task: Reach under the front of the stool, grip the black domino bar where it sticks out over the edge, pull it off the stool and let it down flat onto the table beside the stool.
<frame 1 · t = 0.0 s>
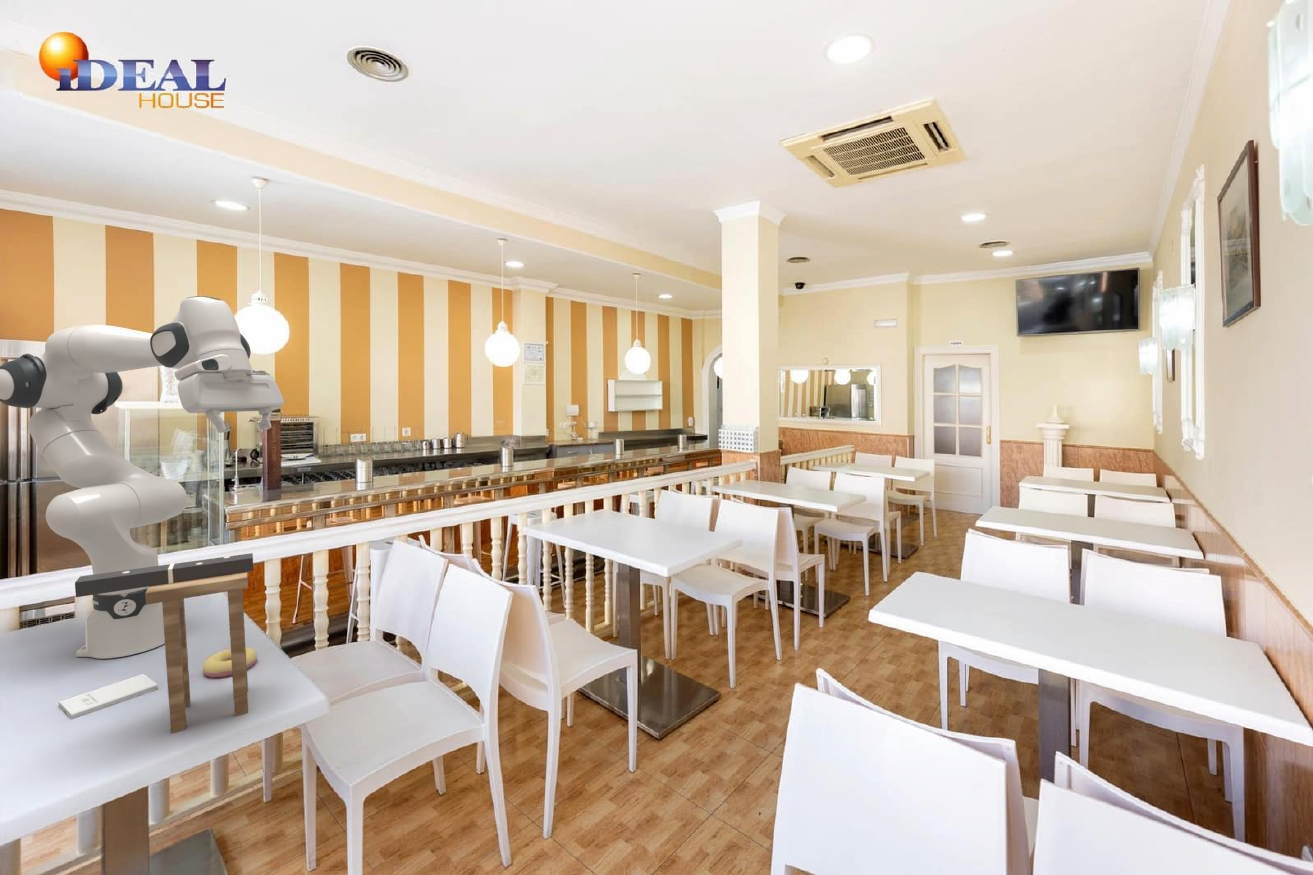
hand: (246, 430, 120), 52 cm above the table, tool tilted 20°, fingers open, 8 cm apart
external hard drive: (109, 700, 110), on the table
donut: (230, 669, 122), on the table
stool: (208, 709, 106), on the table
domino: (172, 580, 102), point 26 cm above the table, touching stool
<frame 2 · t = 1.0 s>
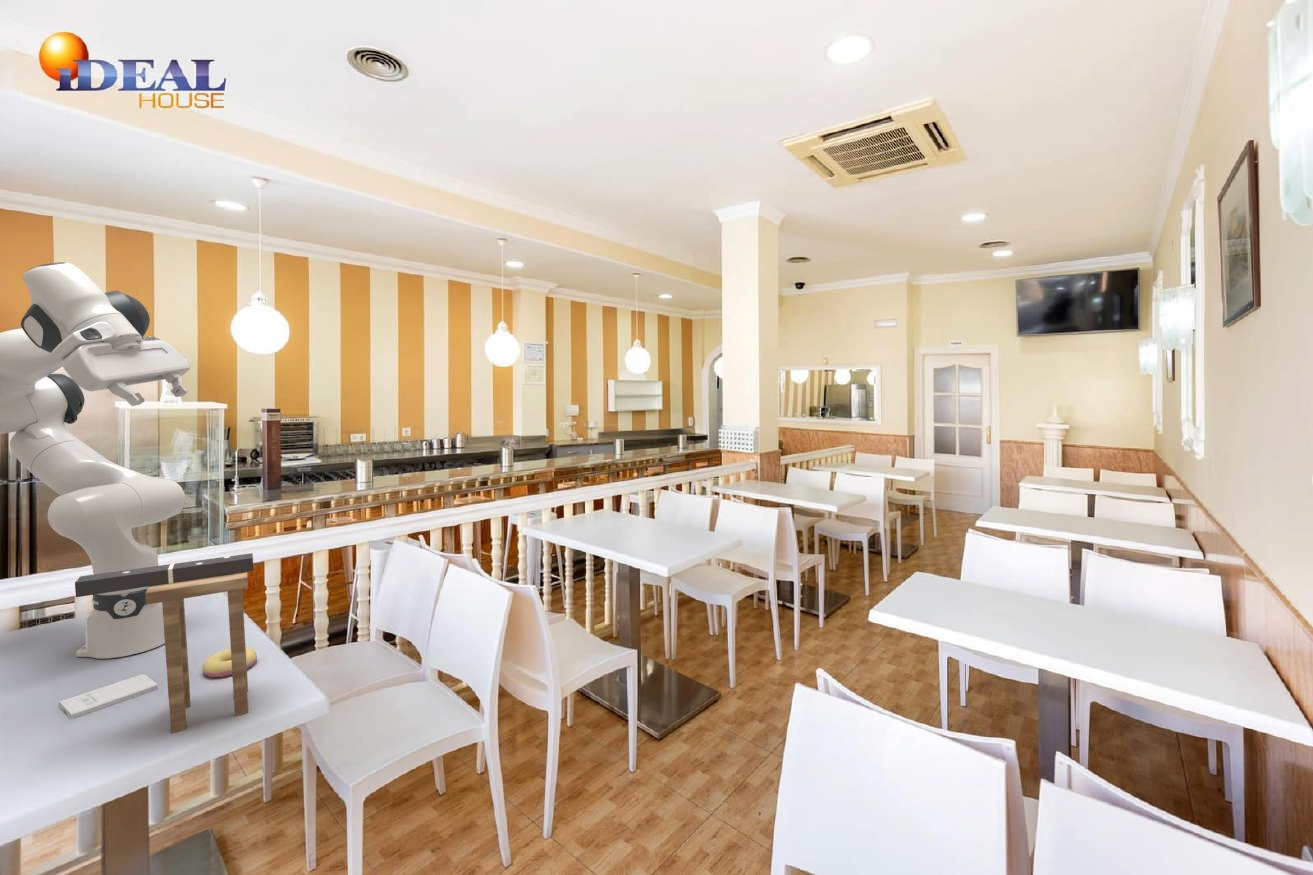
hand: (161, 399, 109), 59 cm above the table, tool tilted 35°, fingers open, 8 cm apart
nothing on the table moved.
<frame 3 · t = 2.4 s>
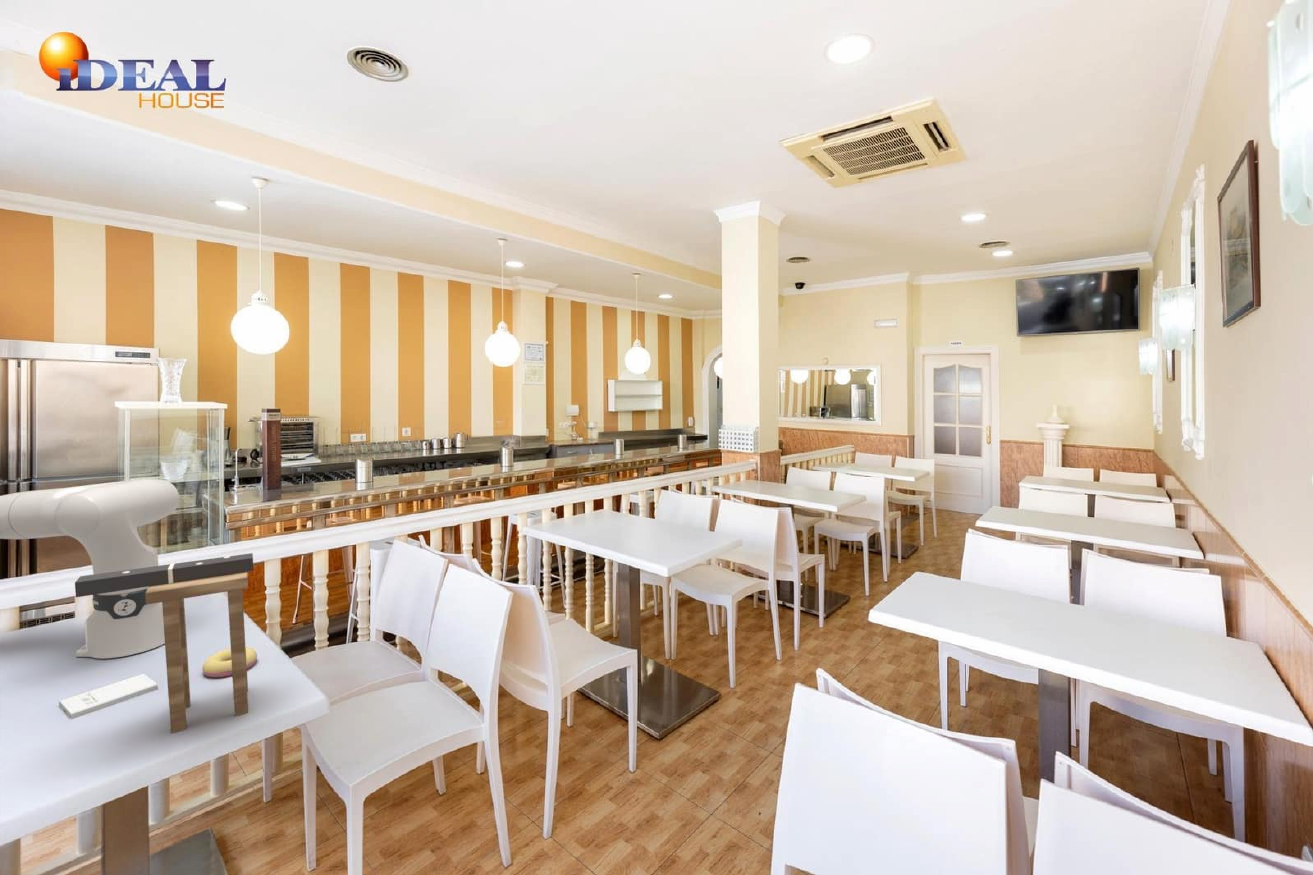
nothing on the table moved.
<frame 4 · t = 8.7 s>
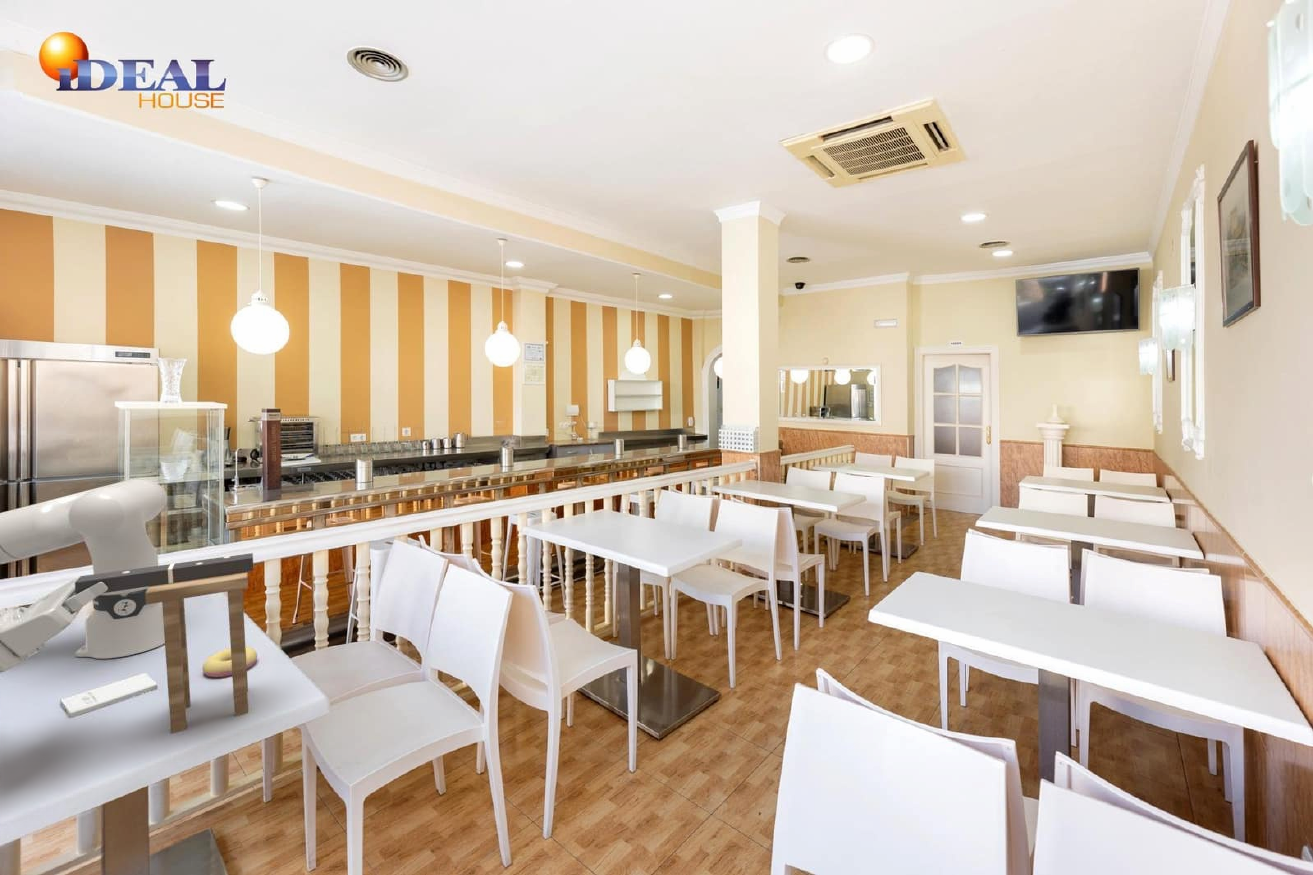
hand: (108, 580, 97), 28 cm above the table, tool pointing upward, fingers closed on domino, 4 cm apart
domino: (172, 580, 102), point 26 cm above the table, touching gripper, stool
everything else where it was.
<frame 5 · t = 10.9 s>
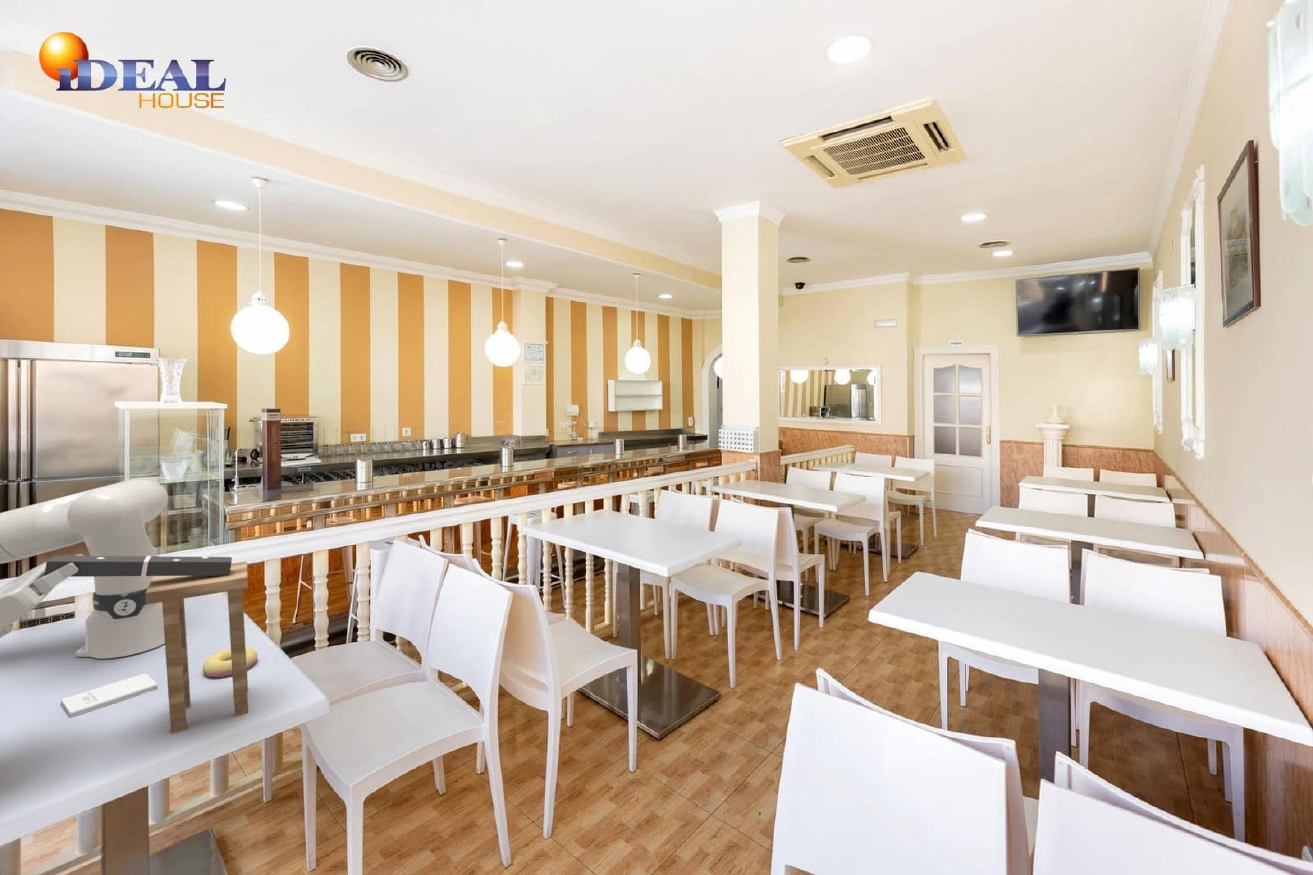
hand: (80, 561, 94), 32 cm above the table, tool pointing upward, fingers closed on domino, 4 cm apart
domino: (145, 573, 99), point 28 cm above the table, tilted 10°, touching gripper, stool
everything else where it was.
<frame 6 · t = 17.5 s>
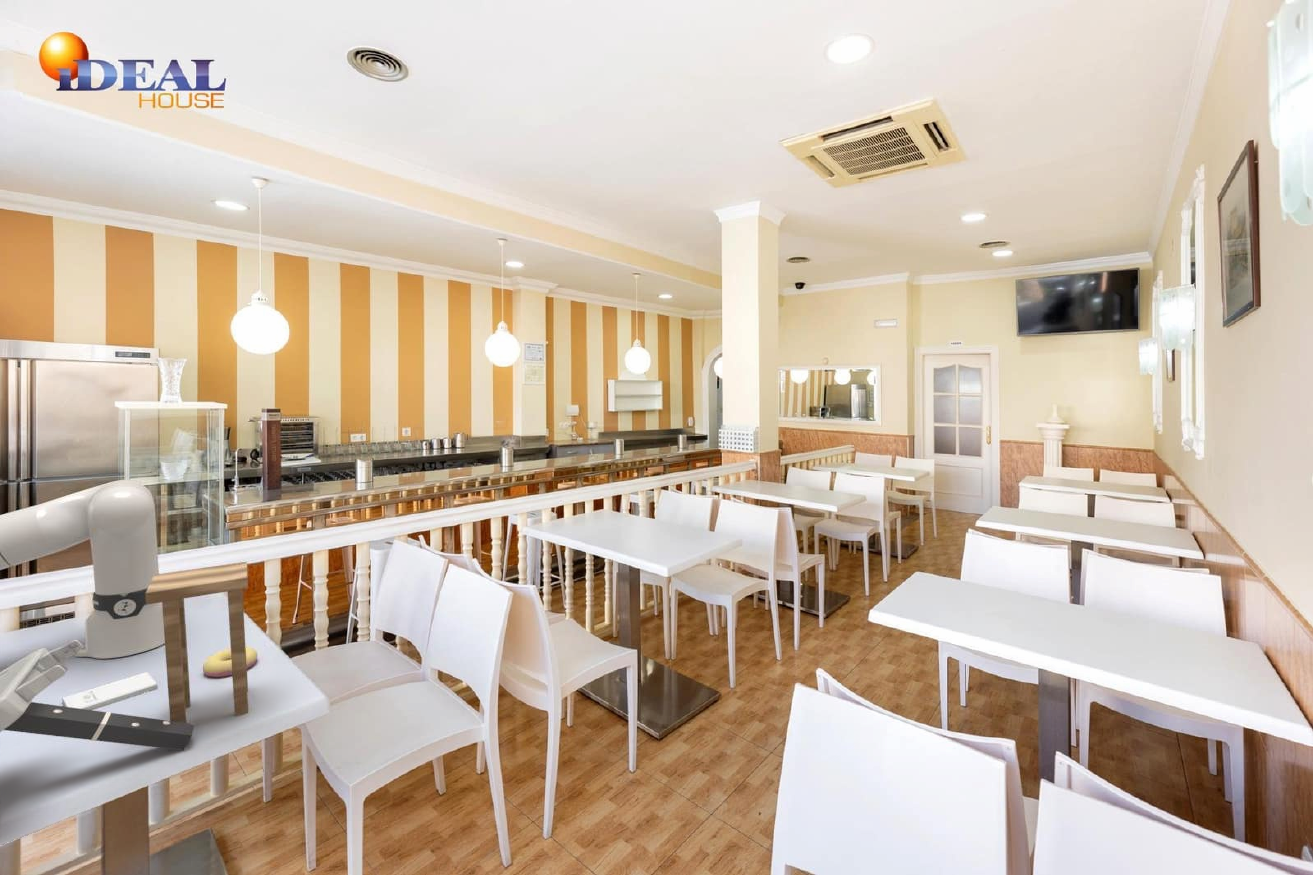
hand: (71, 655, 87), 19 cm above the table, tool pointing upward, fingers open, 8 cm apart
domino: (96, 734, 89), point 6 cm above the table, tilted 28°, touching arm
everything else where it was.
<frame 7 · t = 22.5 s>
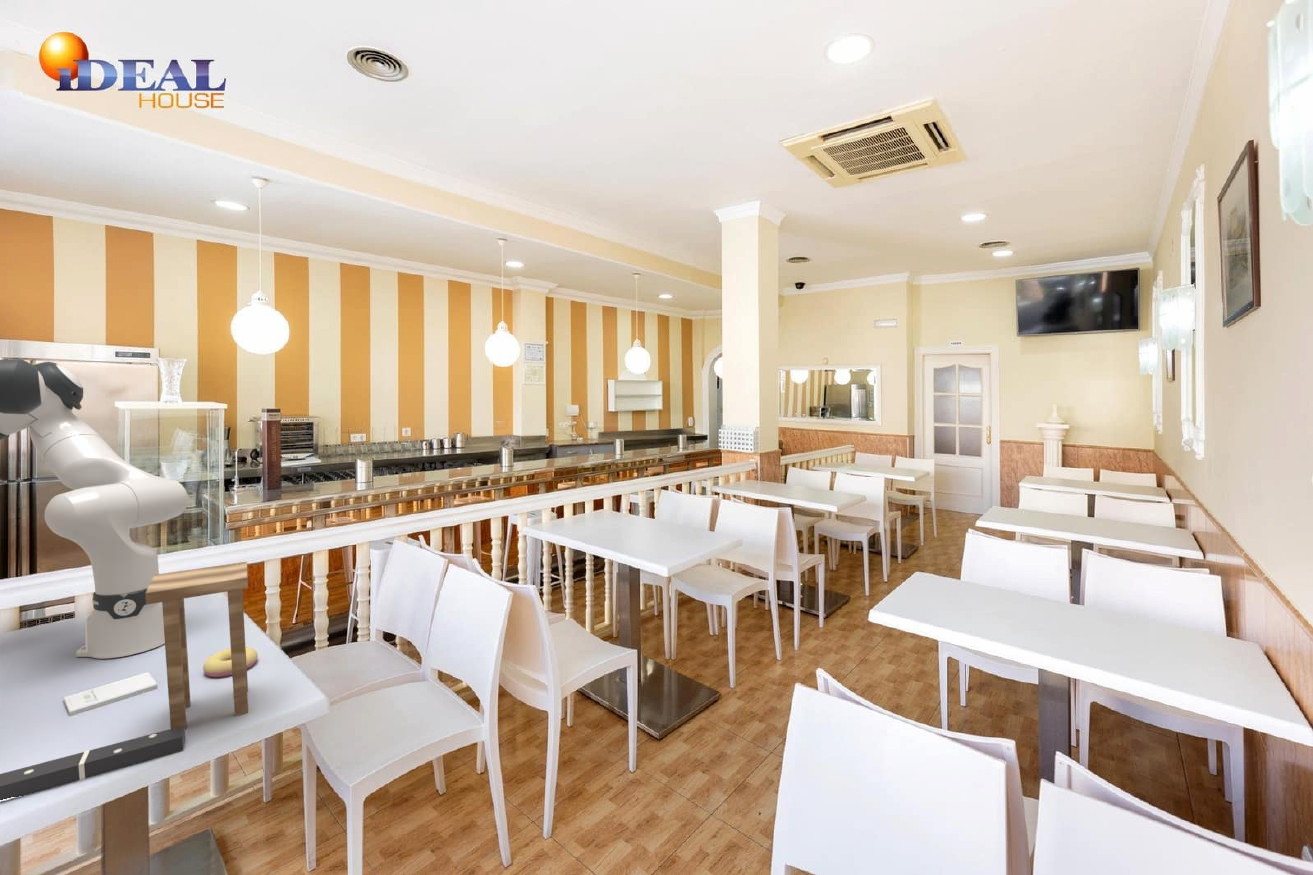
domino: (85, 772, 89), on the table
at the end: domino on the table; domino touching table; the gripper is holding nothing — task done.
